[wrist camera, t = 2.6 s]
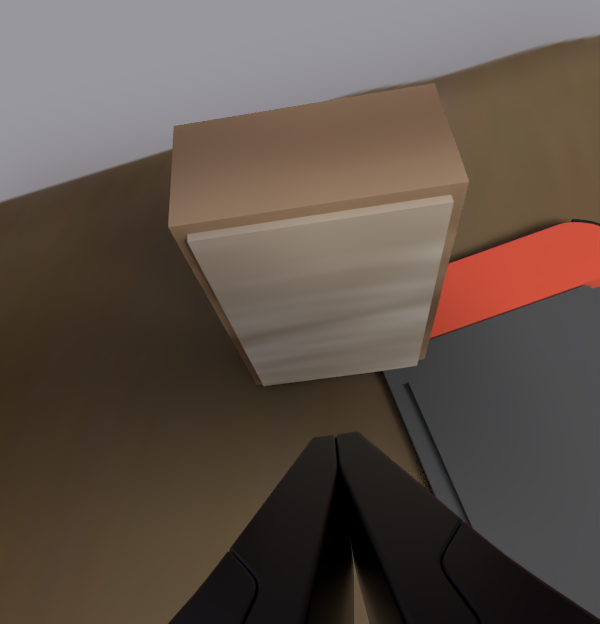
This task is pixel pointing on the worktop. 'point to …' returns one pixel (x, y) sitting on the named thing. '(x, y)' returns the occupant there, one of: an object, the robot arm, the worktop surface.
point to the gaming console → (518, 403)
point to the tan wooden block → (322, 229)
